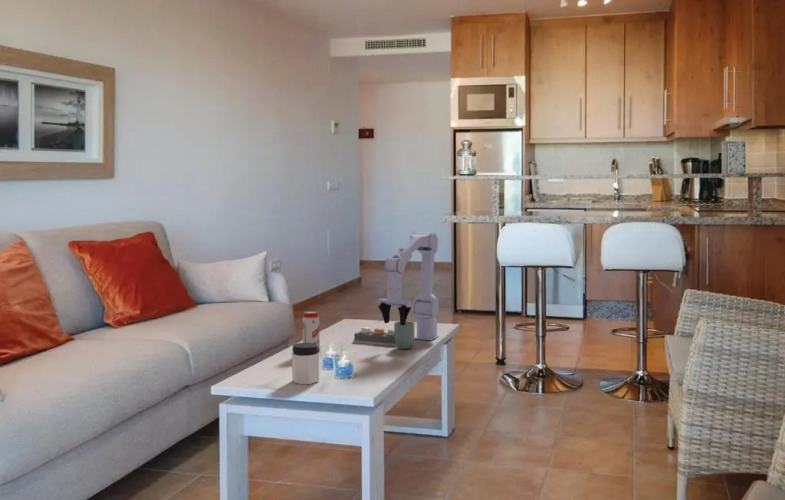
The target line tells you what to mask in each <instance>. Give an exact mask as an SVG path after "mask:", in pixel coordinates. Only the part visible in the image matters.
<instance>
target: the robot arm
mask: <svg viewBox="0 0 785 500" xmlns="http://www.w3.org/2000/svg"><path fill="white" fill-rule="evenodd" d="M438 242H439V237H438V235H437V234H436V233H435V232H424V231H423V232H422V231H421V232H420V231H414V232H412V233H411V234H410V237H409V241H408V243H407V244H406V246H402V247H400V248H399V249H398V250H397V251H396V252H395V253H394V255H392V256H391V257H388V258H386V260H385V261H384V263H383V269H384V272H385V277H386V295H387V296H386V298H384V297H383V298H381V297H380V298H378V302H377V303H378V305H377V306H378V308H379V311H380V312H381V315H382V318H383V322H384V323H383V324H389V323H390V313H391V312H390V311H391V308H392V306H398V307H397V309H398V313H399V322H400V325H405V323H406V321H407V319H408V315H409V313H410V312H411V310H412V313H413V314H414V317H416V336H414V340H421V341H422V340H423V341H432V340H434V339H436V338H438V337H440V335H439V334H438V333H437V332H438V321H437V319H436V317H437V315H438V314H439V310H440V306H439V299H438V297H437V296H435V295H434V293H433V284H434V271H435V270H434V268H435V255H436V253H437V252H438V247H439V245H438V244H439V243H438ZM416 251H417V252H419V253H420V254H421V269H420V271H421V272H420V285H419V286H420V287H419V293H418V294H416V295H415V296H414V299H413V302H412V301H409V300H406V299H405V300H404V299H403V273H404V272H405V269H406V266H407V263H408V262H410V260H411V259H412V257H413V253H414V252H416Z"/></svg>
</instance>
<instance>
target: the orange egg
mask: <svg viewBox="0 0 785 500" xmlns="http://www.w3.org/2000/svg"><path fill="white" fill-rule="evenodd" d="M373 332H374V335H384V333H385V328H383V327H376V328H374V329H373Z"/></svg>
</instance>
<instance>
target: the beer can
mask: <svg viewBox="0 0 785 500" xmlns="http://www.w3.org/2000/svg"><path fill="white" fill-rule="evenodd" d="M302 343H315V344H317V345H318V354H320V348H321V346H320V345H321V344H320V343H321V341H320V315H319V312H318V311H316V310H305V311H303V315H302Z"/></svg>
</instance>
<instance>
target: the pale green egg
mask: <svg viewBox="0 0 785 500" xmlns="http://www.w3.org/2000/svg"><path fill="white" fill-rule="evenodd" d="M387 333H388V336H394V328H391V329H387Z"/></svg>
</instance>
